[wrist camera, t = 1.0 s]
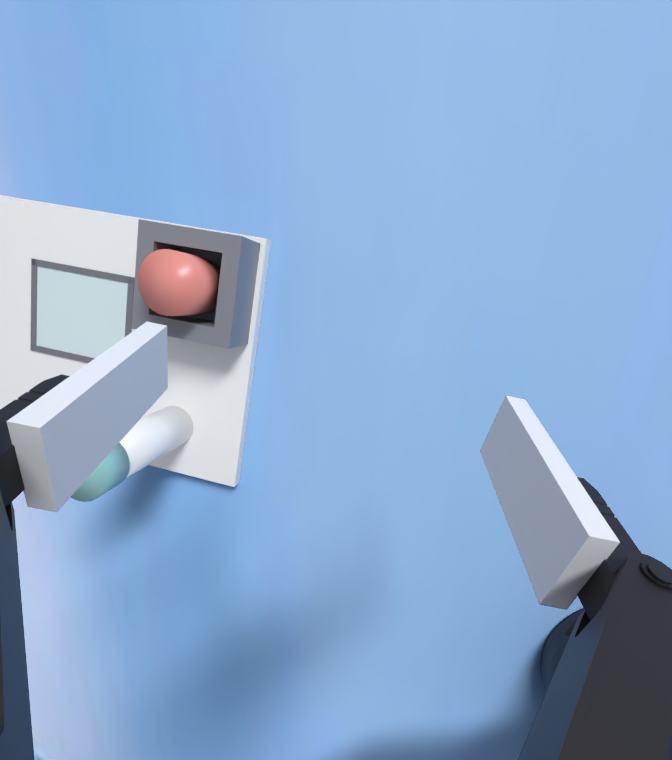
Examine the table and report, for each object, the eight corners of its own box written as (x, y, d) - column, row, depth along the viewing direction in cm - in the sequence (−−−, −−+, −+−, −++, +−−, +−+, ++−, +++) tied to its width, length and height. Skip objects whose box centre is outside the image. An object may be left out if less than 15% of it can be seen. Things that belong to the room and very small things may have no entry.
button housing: (247, 344, 37) (229, 348, 33) (159, 326, 38) (131, 328, 35) (260, 243, 35) (242, 236, 31) (167, 228, 37) (138, 219, 33)
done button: (220, 319, 35) (194, 321, 31) (168, 309, 36) (135, 309, 32) (226, 260, 34) (200, 254, 30) (172, 251, 35) (139, 244, 30)
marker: (192, 449, 40) (104, 507, 29) (154, 439, 41) (52, 493, 29) (196, 409, 39) (107, 453, 28) (157, 400, 40) (54, 439, 28)
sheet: (239, 482, 41) (233, 487, 40) (-9, 418, 46) (-21, 422, 44) (271, 240, 36) (266, 238, 35) (-11, 194, 40) (-25, 190, 39)
